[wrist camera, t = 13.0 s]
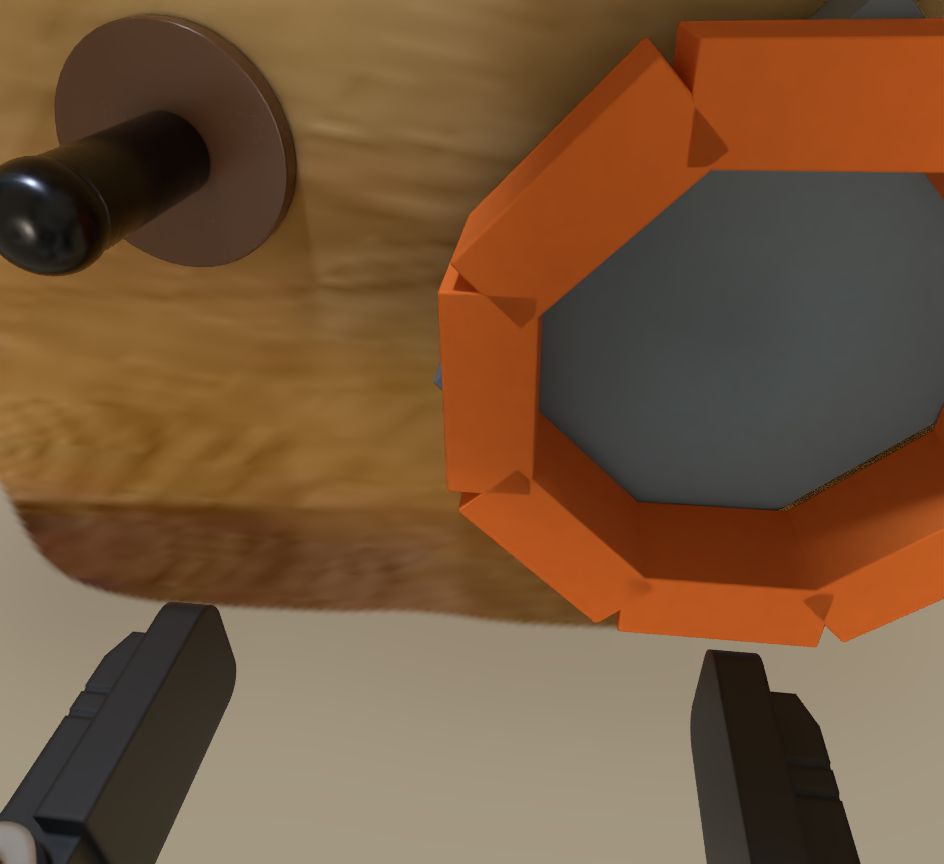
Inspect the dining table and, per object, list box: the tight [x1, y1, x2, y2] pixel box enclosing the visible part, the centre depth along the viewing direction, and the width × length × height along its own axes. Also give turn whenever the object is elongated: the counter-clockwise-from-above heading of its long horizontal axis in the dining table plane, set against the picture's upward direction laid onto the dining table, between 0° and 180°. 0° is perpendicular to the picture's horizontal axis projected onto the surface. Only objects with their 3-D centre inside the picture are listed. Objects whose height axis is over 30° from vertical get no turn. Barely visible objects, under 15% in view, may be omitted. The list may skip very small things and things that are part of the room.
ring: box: [438, 18, 944, 647], centre depth 19 cm, size 16×16×4 cm
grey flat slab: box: [434, 0, 944, 510], centre depth 22 cm, size 15×11×2 cm
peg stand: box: [0, 15, 296, 276], centre depth 18 cm, size 7×7×8 cm
